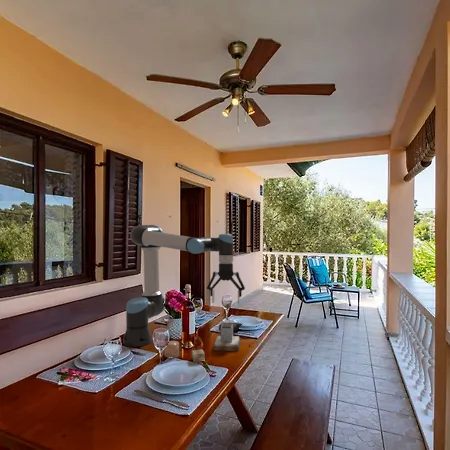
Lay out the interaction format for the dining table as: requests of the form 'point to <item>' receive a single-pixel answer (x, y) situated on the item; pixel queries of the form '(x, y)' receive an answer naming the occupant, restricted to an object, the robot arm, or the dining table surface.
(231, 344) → the stand
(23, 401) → the dining table surface
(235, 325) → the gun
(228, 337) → the housing
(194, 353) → the beech block
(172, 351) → the brown rounded block
